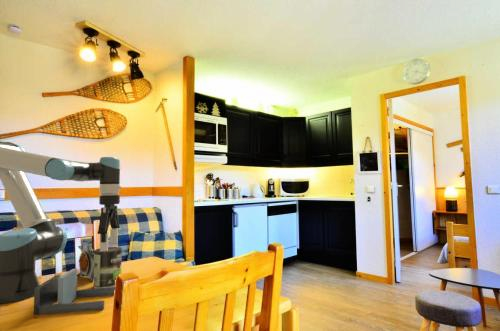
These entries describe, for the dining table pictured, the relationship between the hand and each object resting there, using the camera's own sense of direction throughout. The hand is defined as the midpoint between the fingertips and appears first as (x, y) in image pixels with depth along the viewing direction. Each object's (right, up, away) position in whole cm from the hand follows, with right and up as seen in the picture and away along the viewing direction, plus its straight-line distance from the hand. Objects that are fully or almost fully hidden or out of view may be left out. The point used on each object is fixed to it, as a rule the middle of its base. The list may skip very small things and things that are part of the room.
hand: (109, 247), depth 120 cm
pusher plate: (-4, -13, -21) cm, 25 cm away
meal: (-14, -16, +8) cm, 22 cm away
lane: (-1, -13, -20) cm, 24 cm away
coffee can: (0, -15, -1) cm, 15 cm away
